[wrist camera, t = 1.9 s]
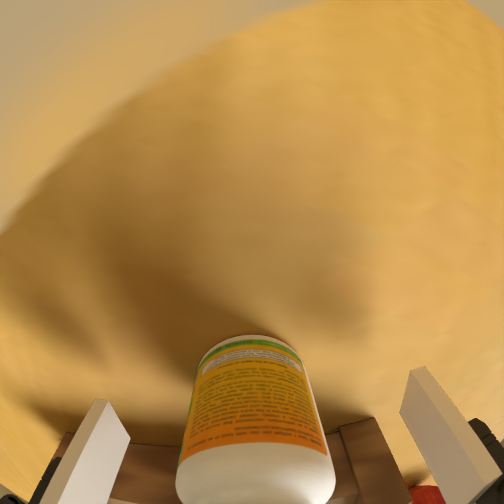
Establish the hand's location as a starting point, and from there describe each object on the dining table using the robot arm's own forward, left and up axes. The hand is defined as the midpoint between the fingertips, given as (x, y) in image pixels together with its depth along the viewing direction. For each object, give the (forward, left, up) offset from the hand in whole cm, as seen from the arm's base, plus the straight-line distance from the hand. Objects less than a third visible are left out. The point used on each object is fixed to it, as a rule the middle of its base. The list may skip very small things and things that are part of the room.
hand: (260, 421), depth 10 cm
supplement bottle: (0, 0, -3) cm, 3 cm away
